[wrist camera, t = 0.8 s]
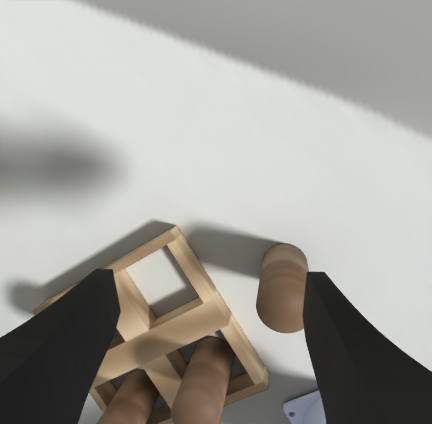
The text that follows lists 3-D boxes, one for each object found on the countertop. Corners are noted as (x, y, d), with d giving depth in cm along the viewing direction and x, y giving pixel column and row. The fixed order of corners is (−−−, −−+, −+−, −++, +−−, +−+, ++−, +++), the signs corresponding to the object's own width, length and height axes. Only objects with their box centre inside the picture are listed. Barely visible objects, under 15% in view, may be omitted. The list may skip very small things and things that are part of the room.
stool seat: (268, 372, 31) (264, 440, 24) (133, 427, 35) (98, 498, 28) (176, 225, 29) (145, 254, 22) (46, 300, 33) (-13, 343, 27)
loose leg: (315, 273, 28) (325, 319, 21) (276, 292, 29) (274, 341, 22) (293, 235, 28) (297, 270, 21) (254, 256, 29) (245, 295, 22)
